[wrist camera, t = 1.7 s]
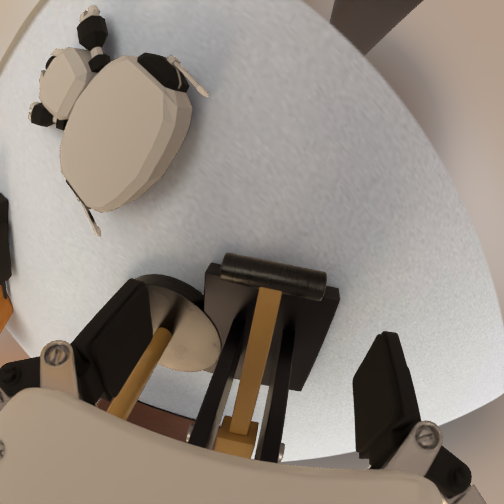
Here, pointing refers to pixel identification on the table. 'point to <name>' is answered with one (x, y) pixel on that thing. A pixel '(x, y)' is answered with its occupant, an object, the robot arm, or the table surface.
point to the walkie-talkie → (4, 247)
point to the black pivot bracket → (278, 361)
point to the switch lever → (260, 336)
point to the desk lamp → (171, 338)
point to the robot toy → (113, 117)
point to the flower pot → (4, 310)
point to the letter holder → (157, 420)
